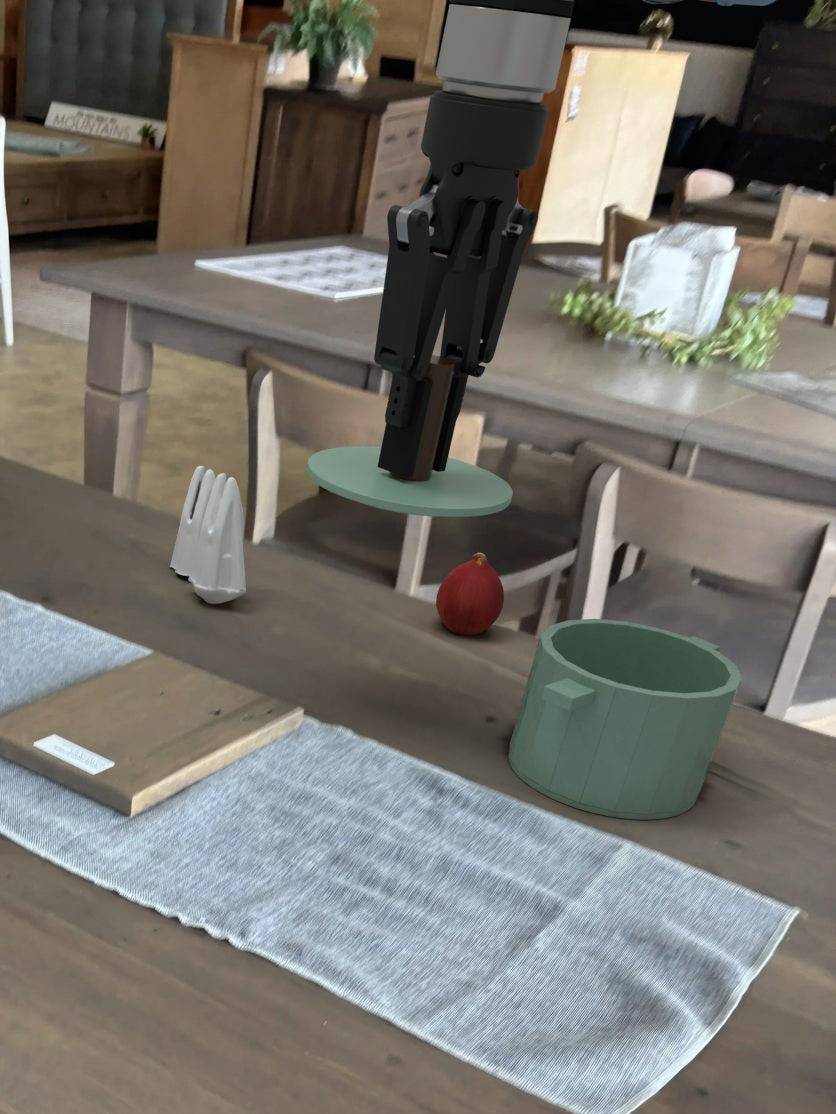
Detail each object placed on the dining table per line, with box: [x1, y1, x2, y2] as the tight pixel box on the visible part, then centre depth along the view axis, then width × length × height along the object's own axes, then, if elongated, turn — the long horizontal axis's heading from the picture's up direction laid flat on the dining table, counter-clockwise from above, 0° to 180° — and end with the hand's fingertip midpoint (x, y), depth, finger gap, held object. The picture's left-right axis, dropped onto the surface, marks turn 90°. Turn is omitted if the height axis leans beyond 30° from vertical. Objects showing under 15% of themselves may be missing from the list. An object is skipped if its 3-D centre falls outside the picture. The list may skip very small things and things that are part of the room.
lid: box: [306, 354, 514, 518], centre depth 101 cm, size 15×15×9 cm
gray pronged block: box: [169, 465, 247, 605], centre depth 128 cm, size 12×4×11 cm, turn 12°
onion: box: [435, 552, 505, 636], centre depth 125 cm, size 6×6×8 cm
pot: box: [508, 618, 743, 821], centre depth 104 cm, size 14×19×10 cm
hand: (411, 468), depth 103 cm, fingers closed on lid, 3 cm apart
